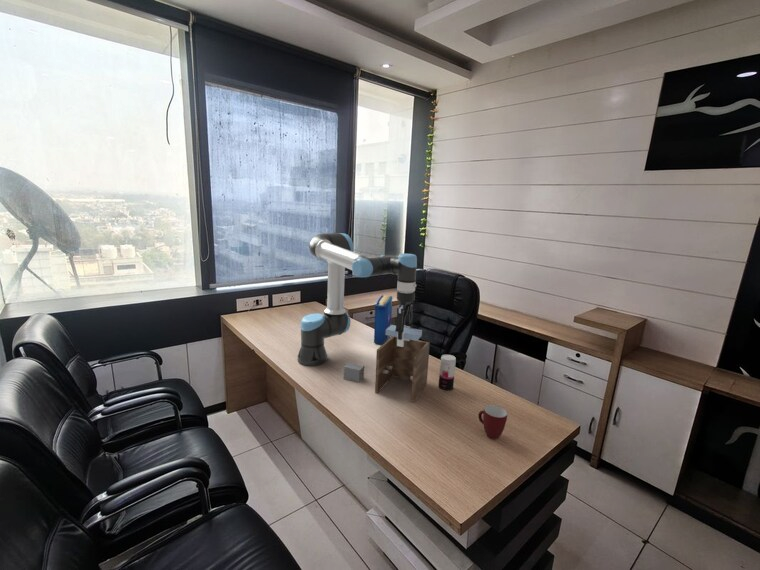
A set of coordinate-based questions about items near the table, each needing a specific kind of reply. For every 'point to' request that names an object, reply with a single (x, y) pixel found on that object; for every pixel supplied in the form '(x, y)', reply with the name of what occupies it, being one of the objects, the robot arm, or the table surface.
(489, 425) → the mug
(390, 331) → the shelf board
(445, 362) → the beverage can
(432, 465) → the table surface
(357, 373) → the riser block
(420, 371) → the bookcase frame
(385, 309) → the book
